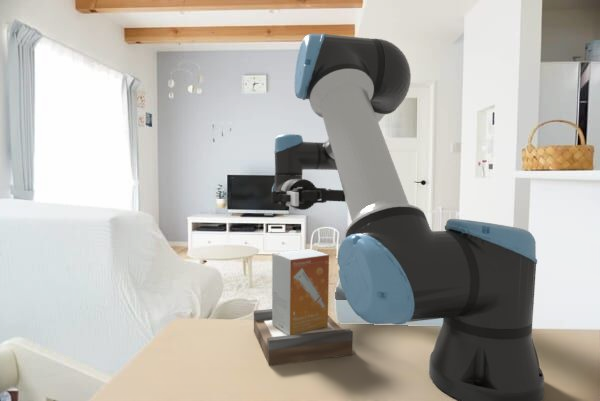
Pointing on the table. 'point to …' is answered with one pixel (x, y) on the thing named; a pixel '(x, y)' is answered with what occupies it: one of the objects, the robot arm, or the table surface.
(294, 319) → the small box
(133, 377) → the table surface
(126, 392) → the table surface
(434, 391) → the table surface
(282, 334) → the tray
